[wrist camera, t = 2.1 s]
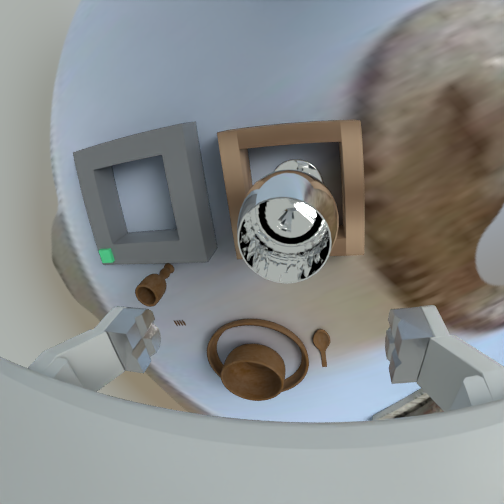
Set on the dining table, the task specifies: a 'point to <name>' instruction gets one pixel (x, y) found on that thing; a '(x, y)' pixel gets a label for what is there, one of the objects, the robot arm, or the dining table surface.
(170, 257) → the frame
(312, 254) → the wineglass
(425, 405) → the packaged product
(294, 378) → the place setting
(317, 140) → the wooden square frame
